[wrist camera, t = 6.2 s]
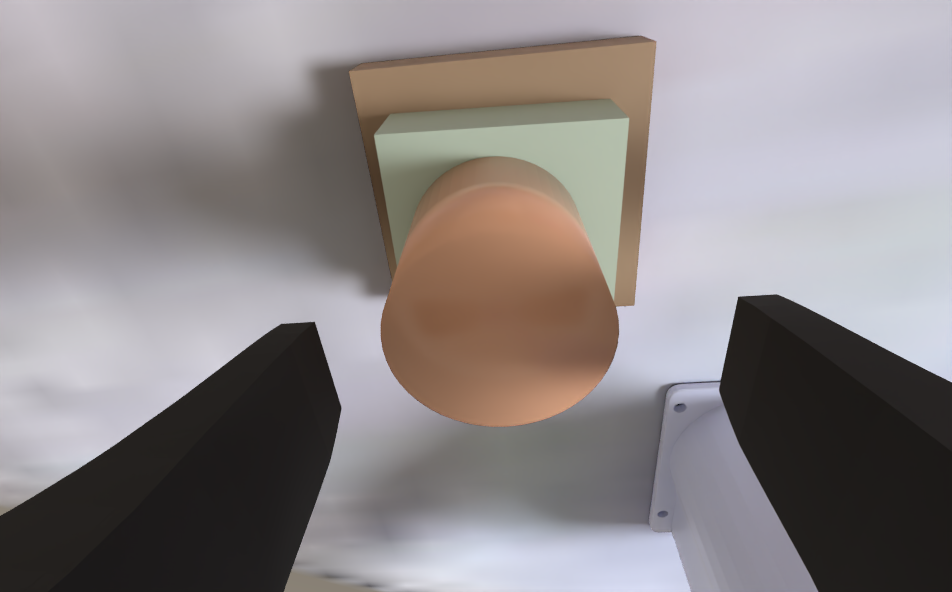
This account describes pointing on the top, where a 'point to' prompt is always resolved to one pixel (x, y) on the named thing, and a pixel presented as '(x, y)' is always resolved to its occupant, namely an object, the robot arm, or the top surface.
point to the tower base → (519, 83)
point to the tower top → (519, 136)
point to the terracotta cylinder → (498, 298)
